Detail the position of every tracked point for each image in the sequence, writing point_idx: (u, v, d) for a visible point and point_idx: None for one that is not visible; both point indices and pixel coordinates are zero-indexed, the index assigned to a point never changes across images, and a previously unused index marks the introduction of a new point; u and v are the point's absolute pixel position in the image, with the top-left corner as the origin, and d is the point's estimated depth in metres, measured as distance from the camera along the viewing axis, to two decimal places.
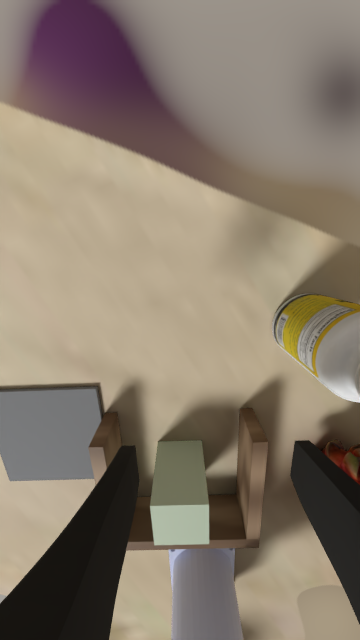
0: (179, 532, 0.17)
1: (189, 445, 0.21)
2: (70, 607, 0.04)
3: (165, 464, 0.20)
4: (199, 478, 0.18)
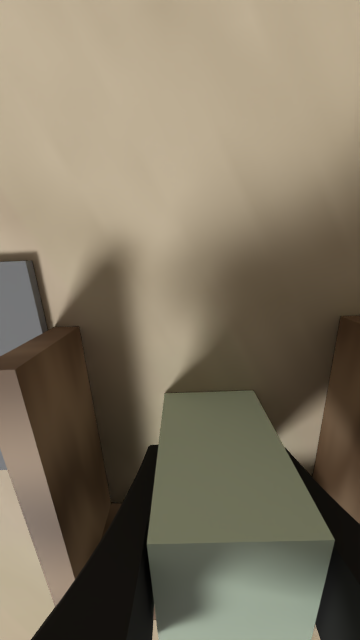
0: (232, 614, 0.06)
1: (230, 399, 0.10)
2: (132, 606, 0.04)
3: (184, 433, 0.08)
4: (275, 461, 0.07)
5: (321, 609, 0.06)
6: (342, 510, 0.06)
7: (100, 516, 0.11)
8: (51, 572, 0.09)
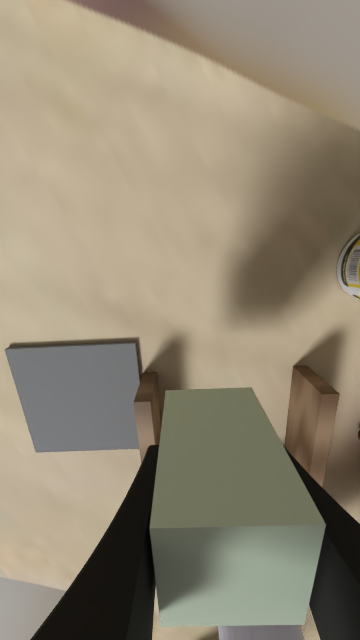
0: (230, 597, 0.06)
1: (229, 395, 0.11)
2: (131, 606, 0.04)
3: (185, 427, 0.09)
4: (271, 454, 0.07)
5: (321, 609, 0.06)
6: (342, 510, 0.06)
7: None
8: None
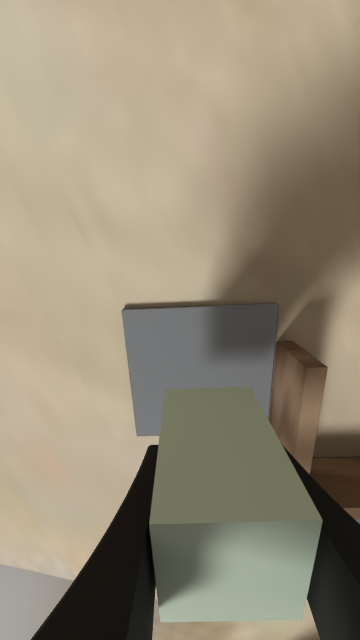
0: (228, 593, 0.06)
1: (228, 394, 0.11)
2: (132, 606, 0.04)
3: (184, 425, 0.09)
4: (269, 452, 0.08)
5: (321, 609, 0.06)
6: (342, 510, 0.06)
7: None
8: None
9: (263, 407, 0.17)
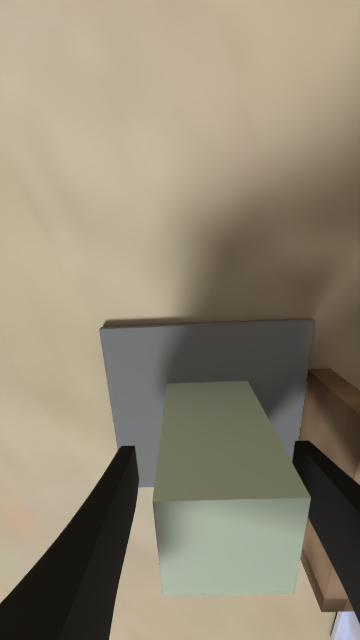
0: (225, 567, 0.07)
1: (226, 388, 0.11)
2: (70, 607, 0.04)
3: (184, 416, 0.09)
4: (264, 439, 0.08)
5: None
6: None
7: None
8: None
9: (288, 453, 0.13)
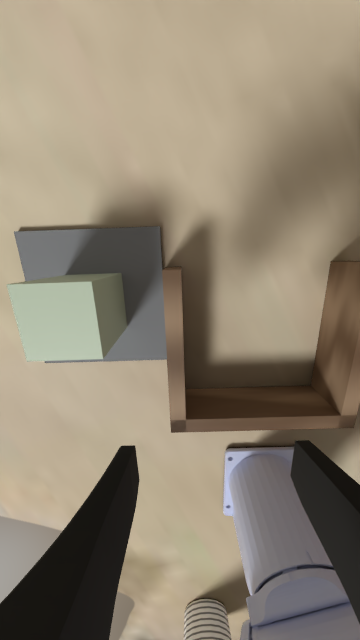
0: (58, 337, 0.12)
1: (102, 274, 0.16)
2: (70, 607, 0.04)
3: (59, 277, 0.15)
4: (95, 278, 0.13)
5: None
6: None
7: None
8: (173, 394, 0.16)
9: (160, 333, 0.18)
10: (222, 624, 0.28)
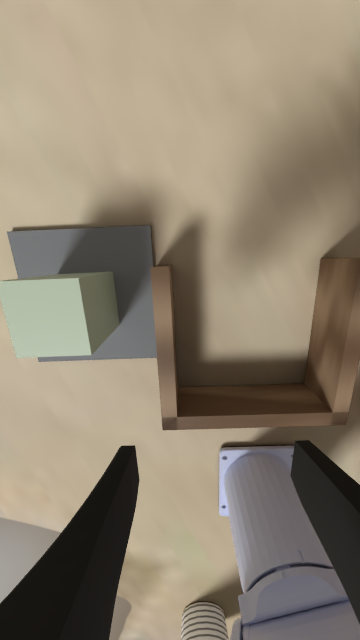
0: (47, 333, 0.12)
1: (94, 272, 0.17)
2: (70, 607, 0.04)
3: None
4: (84, 275, 0.13)
5: None
6: None
7: None
8: (164, 391, 0.16)
9: (152, 331, 0.19)
10: (220, 628, 0.28)
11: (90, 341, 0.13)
